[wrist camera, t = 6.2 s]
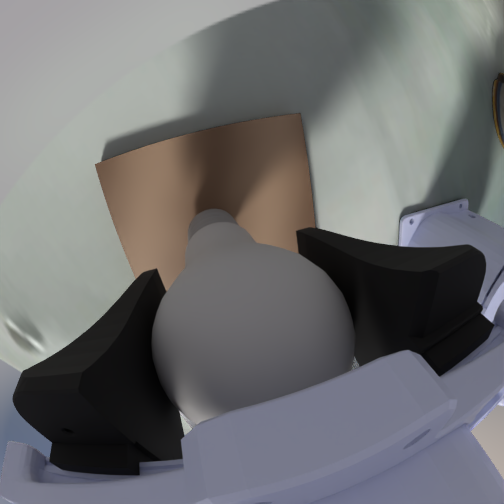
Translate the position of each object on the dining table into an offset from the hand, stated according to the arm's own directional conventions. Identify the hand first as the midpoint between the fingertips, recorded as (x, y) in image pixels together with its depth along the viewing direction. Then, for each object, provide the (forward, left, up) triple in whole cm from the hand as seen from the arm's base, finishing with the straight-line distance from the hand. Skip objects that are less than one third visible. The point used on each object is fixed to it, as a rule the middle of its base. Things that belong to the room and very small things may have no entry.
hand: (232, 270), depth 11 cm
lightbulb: (0, -1, -4) cm, 4 cm away
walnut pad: (0, 0, -5) cm, 5 cm away
